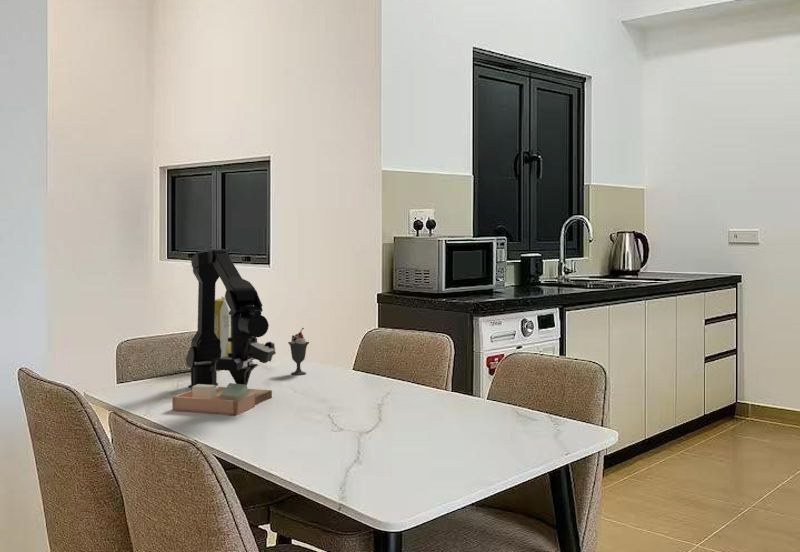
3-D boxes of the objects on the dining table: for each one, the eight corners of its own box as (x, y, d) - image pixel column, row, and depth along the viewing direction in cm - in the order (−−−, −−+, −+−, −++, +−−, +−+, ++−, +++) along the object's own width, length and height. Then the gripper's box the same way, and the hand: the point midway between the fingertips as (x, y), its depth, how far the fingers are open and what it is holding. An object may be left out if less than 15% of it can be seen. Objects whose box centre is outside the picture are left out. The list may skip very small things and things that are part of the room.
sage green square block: (223, 404, 204) (220, 394, 202) (232, 392, 208) (229, 383, 206) (240, 405, 202) (237, 396, 201) (248, 393, 206) (246, 384, 205)
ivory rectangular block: (198, 402, 206) (192, 405, 203) (198, 384, 206) (192, 386, 203) (215, 404, 205) (210, 406, 202) (215, 385, 205) (209, 387, 202)
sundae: (307, 375, 249) (307, 328, 249) (286, 375, 249) (286, 328, 249) (310, 372, 256) (310, 326, 255) (289, 371, 256) (289, 326, 255)
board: (197, 402, 209) (196, 395, 209) (219, 393, 221) (219, 386, 220) (251, 406, 204) (251, 399, 204) (271, 397, 216) (271, 390, 216)
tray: (172, 410, 200) (172, 396, 200) (193, 402, 209) (193, 389, 209) (236, 415, 195) (236, 401, 194) (254, 406, 204) (254, 393, 204)
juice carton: (226, 369, 260) (226, 297, 258) (204, 368, 261) (203, 296, 260) (238, 365, 269) (237, 295, 268) (216, 364, 270) (216, 294, 269)
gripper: (253, 338, 196) (254, 401, 197) (285, 330, 214) (285, 387, 215) (213, 337, 199) (214, 398, 200) (247, 328, 217) (248, 384, 218)
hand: (242, 392), depth 208 cm, fingers closed
